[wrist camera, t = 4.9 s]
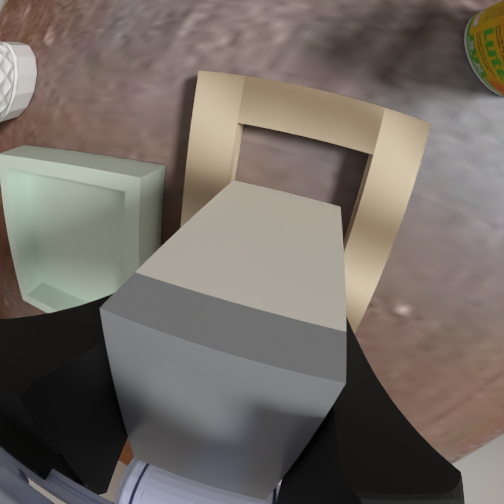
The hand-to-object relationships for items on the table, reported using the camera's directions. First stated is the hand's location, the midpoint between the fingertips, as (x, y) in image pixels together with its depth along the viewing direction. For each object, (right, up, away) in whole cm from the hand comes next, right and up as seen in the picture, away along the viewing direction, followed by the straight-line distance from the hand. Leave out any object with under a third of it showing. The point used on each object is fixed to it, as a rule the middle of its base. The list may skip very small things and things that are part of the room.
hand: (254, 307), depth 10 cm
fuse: (+1, +1, +3) cm, 3 cm away
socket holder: (+2, +4, +8) cm, 10 cm away
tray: (-13, +3, +13) cm, 19 cm away
